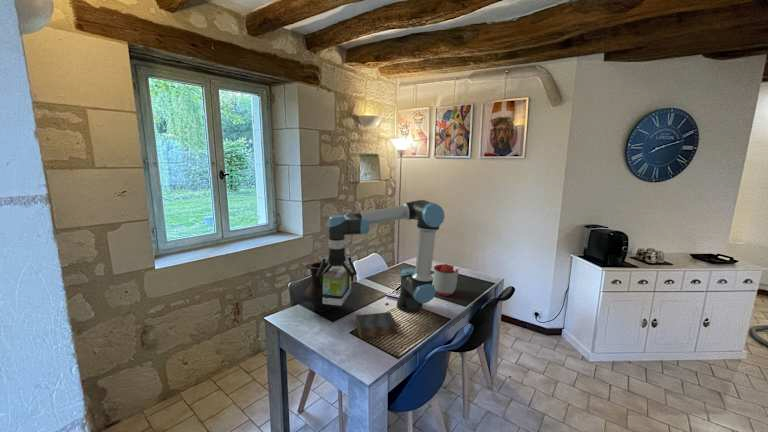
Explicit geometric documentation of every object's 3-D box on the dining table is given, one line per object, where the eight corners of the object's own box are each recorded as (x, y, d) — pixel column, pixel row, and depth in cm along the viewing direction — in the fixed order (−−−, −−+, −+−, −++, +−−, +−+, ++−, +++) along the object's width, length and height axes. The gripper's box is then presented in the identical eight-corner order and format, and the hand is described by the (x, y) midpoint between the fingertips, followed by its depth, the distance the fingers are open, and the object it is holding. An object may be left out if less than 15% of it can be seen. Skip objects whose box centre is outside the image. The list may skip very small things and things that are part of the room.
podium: (389, 319, 174) (390, 311, 173) (397, 334, 160) (398, 325, 159) (355, 322, 170) (355, 314, 169) (360, 338, 155) (360, 329, 154)
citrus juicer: (463, 296, 206) (465, 266, 202) (439, 299, 200) (441, 269, 197) (450, 286, 221) (452, 258, 217) (428, 289, 215) (429, 261, 211)
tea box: (342, 306, 151) (342, 276, 148) (322, 304, 152) (321, 275, 150) (350, 293, 165) (350, 265, 163) (332, 291, 167) (331, 264, 164)
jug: (307, 318, 172) (306, 266, 166) (302, 304, 189) (301, 255, 183) (345, 312, 180) (345, 261, 175) (336, 298, 197) (336, 252, 191)
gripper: (311, 250, 147) (312, 294, 151) (363, 248, 153) (362, 290, 157) (310, 246, 154) (311, 287, 158) (360, 244, 160) (359, 284, 165)
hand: (336, 289), depth 158 cm, fingers closed on tea box, 12 cm apart
